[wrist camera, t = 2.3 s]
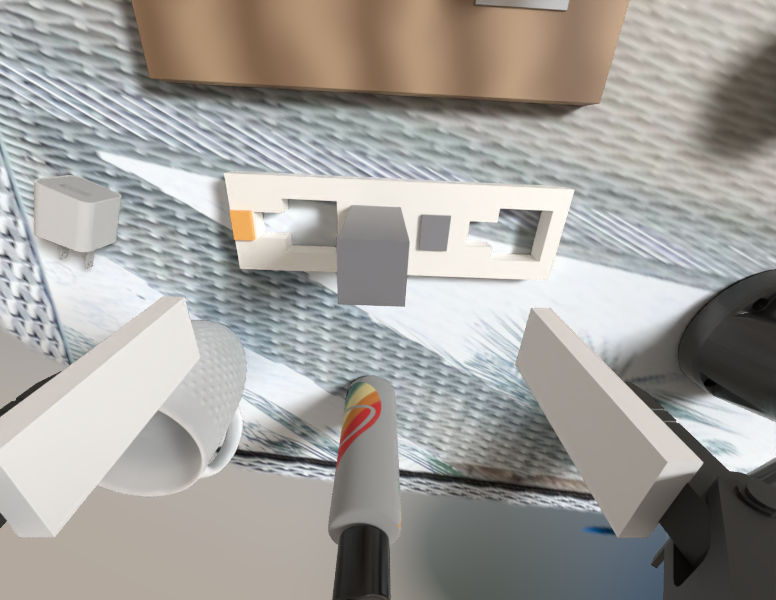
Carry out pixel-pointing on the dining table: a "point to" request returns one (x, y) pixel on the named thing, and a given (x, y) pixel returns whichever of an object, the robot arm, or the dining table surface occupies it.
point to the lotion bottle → (366, 492)
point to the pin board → (388, 46)
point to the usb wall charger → (75, 214)
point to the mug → (188, 422)
